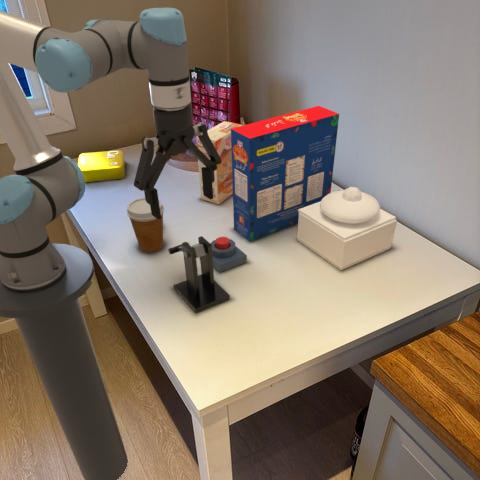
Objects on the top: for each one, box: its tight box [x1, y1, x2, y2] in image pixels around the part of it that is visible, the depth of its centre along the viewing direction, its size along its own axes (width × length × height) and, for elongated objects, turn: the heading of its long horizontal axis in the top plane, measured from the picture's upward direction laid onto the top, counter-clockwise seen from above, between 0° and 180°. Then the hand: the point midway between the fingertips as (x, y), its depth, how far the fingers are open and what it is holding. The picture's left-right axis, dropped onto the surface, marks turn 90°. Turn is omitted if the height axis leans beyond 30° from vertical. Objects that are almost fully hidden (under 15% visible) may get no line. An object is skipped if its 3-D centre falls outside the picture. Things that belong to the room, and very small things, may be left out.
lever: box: [167, 241, 206, 259], centre depth 111 cm, size 13×5×2 cm, turn 33°
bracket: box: [173, 235, 231, 314], centre depth 109 cm, size 11×9×14 cm
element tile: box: [77, 149, 126, 183], centre depth 165 cm, size 15×15×5 cm
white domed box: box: [296, 186, 398, 271], centre depth 124 cm, size 18×18×16 cm
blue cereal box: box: [231, 105, 340, 243], centre depth 130 cm, size 28×8×28 cm, turn 124°
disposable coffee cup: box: [126, 197, 165, 253], centre depth 126 cm, size 10×10×12 cm
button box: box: [209, 238, 248, 273], centre depth 124 cm, size 10×8×4 cm
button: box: [214, 236, 230, 250], centre depth 122 cm, size 4×4×2 cm
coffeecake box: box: [195, 120, 244, 205], centre depth 147 cm, size 15×7×20 cm, turn 148°
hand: (183, 206), depth 106 cm, fingers open, 13 cm apart
